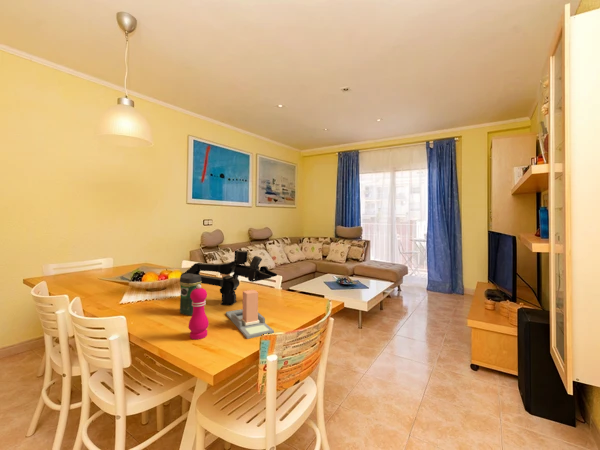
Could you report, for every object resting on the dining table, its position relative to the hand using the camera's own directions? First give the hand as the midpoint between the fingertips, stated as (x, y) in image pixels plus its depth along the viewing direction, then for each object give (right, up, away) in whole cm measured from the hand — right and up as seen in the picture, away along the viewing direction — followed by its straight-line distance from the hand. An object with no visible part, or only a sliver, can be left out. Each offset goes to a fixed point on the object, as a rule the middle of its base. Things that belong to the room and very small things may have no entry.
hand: (274, 275), depth 137 cm
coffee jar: (-39, -16, -8) cm, 43 cm away
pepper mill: (-26, -17, -33) cm, 45 cm away
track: (-10, -17, -19) cm, 27 cm away
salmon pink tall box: (-8, -15, -22) cm, 28 cm away
